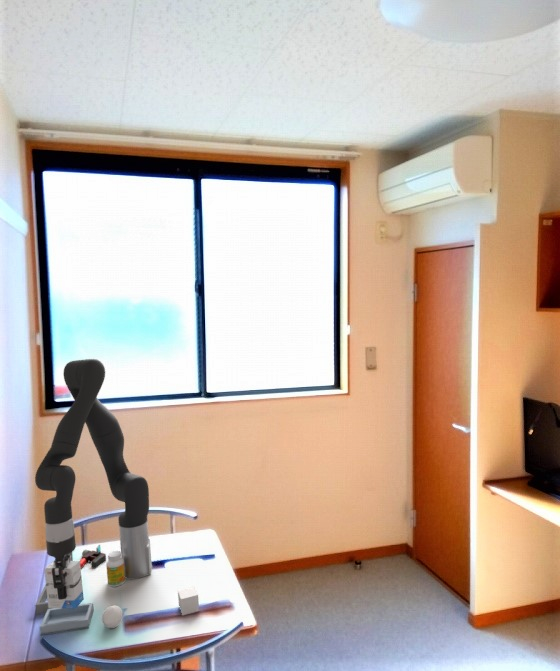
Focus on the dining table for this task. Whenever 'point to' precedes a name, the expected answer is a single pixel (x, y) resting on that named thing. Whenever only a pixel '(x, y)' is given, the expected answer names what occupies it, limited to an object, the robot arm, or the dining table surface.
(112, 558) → the supplement bottle
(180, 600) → the white cube
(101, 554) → the toy gun
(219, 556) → the dining table surface
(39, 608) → the cradle
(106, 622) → the white ball
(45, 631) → the tray
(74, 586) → the ink box
